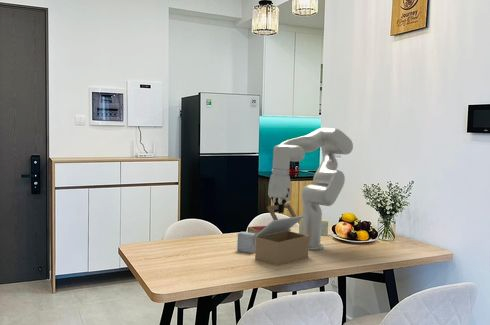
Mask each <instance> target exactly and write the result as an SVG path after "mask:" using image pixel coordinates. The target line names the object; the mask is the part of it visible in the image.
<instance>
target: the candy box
mask: <svg viewBox="0 0 490 325" xmlns="http://www.w3.org/2000/svg"><path fill="white" fill-rule="evenodd" d="M328 232H329V221H328V220H321V236H322V235H324V237H325V236H328ZM298 233H300V234H302V219H301V220H300V221H298Z"/></svg>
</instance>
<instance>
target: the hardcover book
mask: <svg viewBox="0 0 490 325" xmlns="http://www.w3.org/2000/svg"><path fill="white" fill-rule="evenodd" d="M266 226H267V225H258V226H248V227H247V232H248V233H255V234H256V235H257V234H258V233H259V232H260V231H261V230H263V229H264V228H265V227H266ZM287 231H292V229H291V228H290V229H289V230H287ZM282 232H283V231H282ZM277 233H278V232H277ZM272 234H273V233H272ZM267 235H268V234H267ZM262 236H263V235H262ZM257 237H258V236H257Z"/></svg>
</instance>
